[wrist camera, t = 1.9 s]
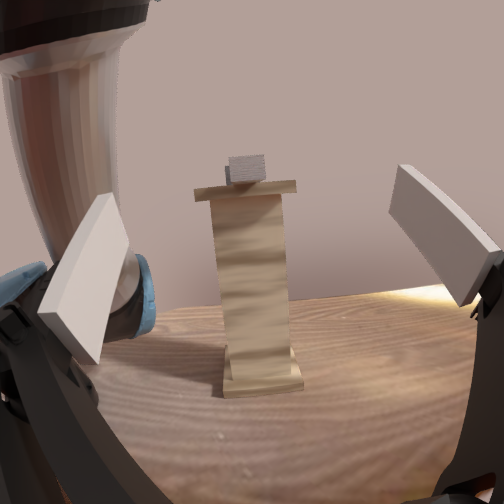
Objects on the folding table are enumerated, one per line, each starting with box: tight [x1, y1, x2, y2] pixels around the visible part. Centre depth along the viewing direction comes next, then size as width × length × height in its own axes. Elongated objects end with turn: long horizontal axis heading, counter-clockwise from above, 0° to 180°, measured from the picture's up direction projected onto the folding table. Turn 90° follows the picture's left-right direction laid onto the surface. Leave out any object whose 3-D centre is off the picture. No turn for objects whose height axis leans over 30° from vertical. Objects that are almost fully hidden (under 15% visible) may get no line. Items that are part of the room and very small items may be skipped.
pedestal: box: [194, 180, 304, 398], centre depth 43 cm, size 14×12×30 cm
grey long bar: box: [225, 155, 266, 185], centre depth 34 cm, size 24×5×3 cm, turn 3°
